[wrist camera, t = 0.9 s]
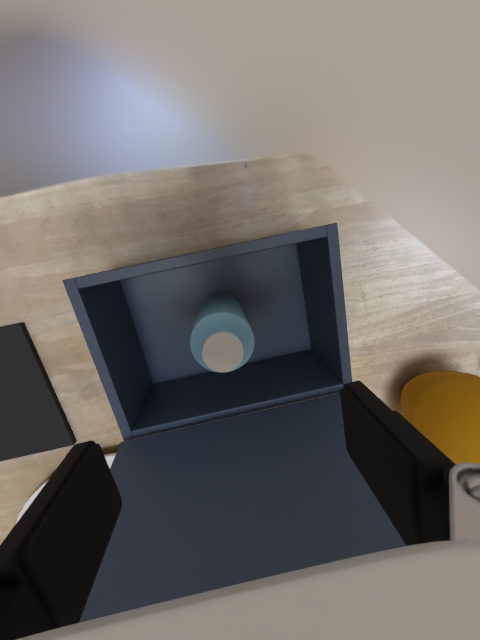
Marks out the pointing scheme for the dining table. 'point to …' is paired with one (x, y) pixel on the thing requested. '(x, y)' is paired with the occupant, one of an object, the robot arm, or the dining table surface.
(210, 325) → the bottle
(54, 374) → the dining table surface
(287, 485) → the lid
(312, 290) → the chest
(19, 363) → the mat
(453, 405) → the apple
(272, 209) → the dining table surface
